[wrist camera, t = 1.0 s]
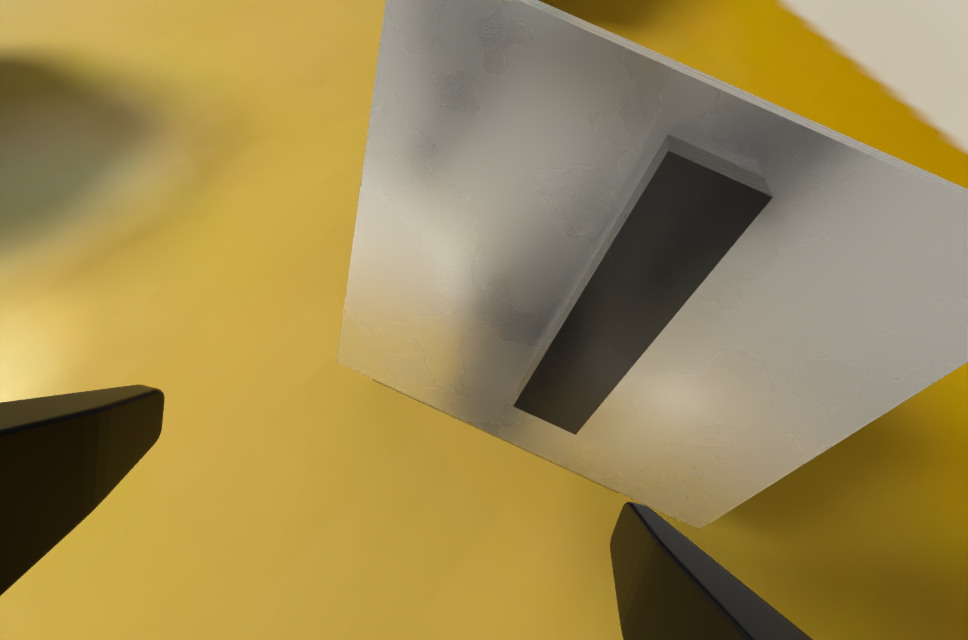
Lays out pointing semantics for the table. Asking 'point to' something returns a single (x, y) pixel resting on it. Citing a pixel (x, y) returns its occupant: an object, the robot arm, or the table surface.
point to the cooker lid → (637, 258)
